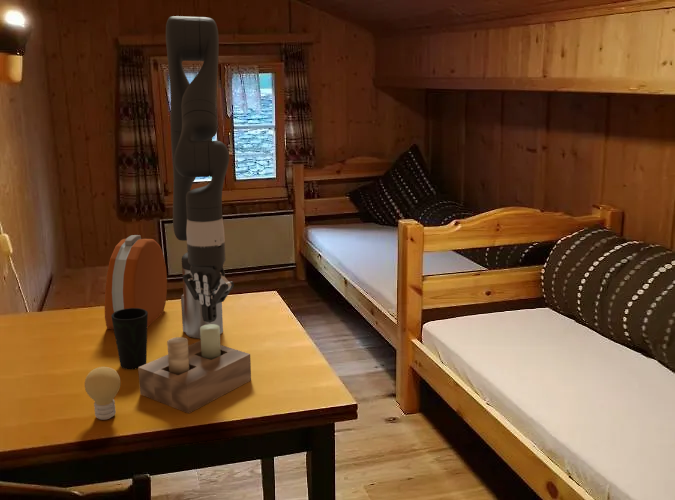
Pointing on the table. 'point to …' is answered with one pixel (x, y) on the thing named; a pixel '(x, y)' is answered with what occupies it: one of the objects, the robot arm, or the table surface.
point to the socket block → (195, 378)
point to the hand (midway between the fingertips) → (209, 321)
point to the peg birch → (178, 355)
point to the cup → (131, 336)
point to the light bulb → (103, 390)
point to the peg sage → (210, 341)
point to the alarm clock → (136, 278)
